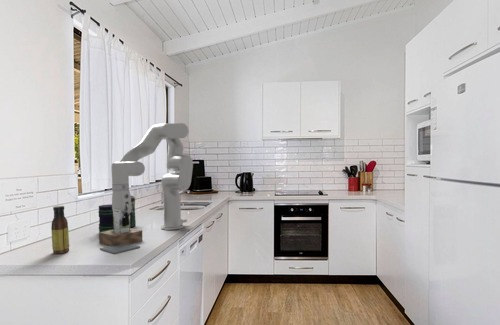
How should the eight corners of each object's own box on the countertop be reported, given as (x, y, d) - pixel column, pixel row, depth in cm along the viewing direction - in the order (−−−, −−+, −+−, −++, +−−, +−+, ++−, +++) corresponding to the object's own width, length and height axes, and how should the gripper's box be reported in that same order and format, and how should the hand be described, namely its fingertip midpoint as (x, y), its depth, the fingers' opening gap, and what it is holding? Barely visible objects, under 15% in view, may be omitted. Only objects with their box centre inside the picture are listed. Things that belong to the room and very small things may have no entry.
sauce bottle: (65, 249, 141) (65, 204, 141) (71, 251, 137) (71, 205, 137) (49, 252, 136) (48, 206, 136) (55, 255, 132) (54, 207, 132)
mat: (125, 243, 150) (125, 242, 150) (140, 247, 143) (140, 246, 143) (100, 249, 140) (100, 248, 140) (114, 254, 133) (114, 252, 133)
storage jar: (122, 231, 178) (121, 204, 178) (112, 235, 168) (112, 206, 168) (105, 230, 179) (104, 204, 179) (94, 235, 169) (94, 206, 169)
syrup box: (124, 236, 158) (123, 206, 158) (131, 237, 155) (130, 207, 154) (113, 238, 154) (112, 208, 154) (119, 240, 150) (118, 209, 150)
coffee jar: (124, 225, 194) (123, 194, 194) (137, 225, 194) (136, 194, 194) (117, 228, 185) (117, 196, 185) (131, 228, 184) (130, 196, 184)
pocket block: (126, 237, 163) (126, 227, 163) (142, 240, 155) (142, 230, 155) (99, 242, 152) (99, 232, 152) (115, 247, 144) (115, 236, 144)
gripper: (137, 187, 152) (139, 225, 152) (118, 186, 162) (119, 221, 162) (123, 189, 146) (124, 228, 146) (103, 187, 156) (105, 224, 156)
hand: (121, 224), depth 154 cm, fingers closed on syrup box, 5 cm apart
